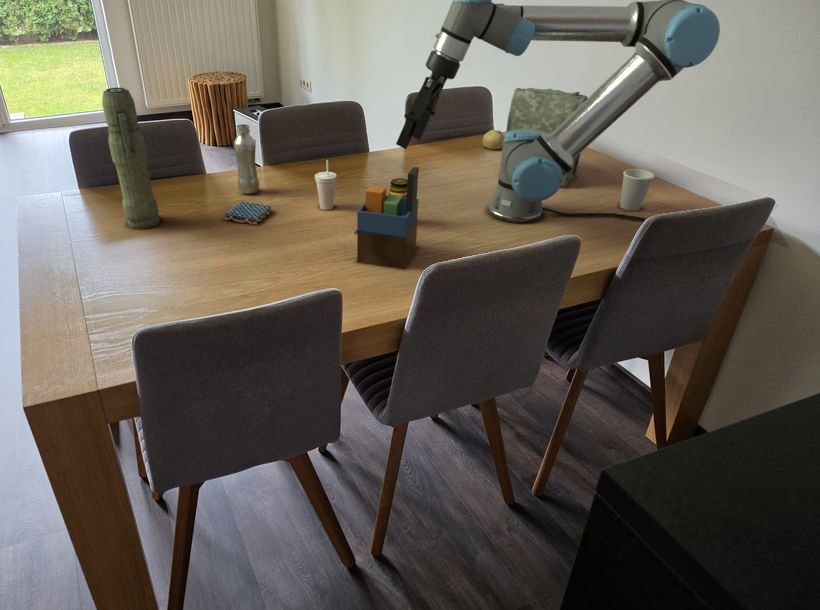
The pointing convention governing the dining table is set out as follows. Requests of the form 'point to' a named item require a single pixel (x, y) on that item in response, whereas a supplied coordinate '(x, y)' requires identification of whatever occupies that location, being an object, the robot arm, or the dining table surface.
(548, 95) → the lunch bag
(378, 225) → the blue open box
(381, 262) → the stand
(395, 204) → the green square block
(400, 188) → the condiment
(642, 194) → the dixie cup
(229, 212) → the woven mat
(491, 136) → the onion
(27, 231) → the dining table surface
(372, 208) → the orange rectangular block
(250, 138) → the plastic bottle
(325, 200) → the smoothie
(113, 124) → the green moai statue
